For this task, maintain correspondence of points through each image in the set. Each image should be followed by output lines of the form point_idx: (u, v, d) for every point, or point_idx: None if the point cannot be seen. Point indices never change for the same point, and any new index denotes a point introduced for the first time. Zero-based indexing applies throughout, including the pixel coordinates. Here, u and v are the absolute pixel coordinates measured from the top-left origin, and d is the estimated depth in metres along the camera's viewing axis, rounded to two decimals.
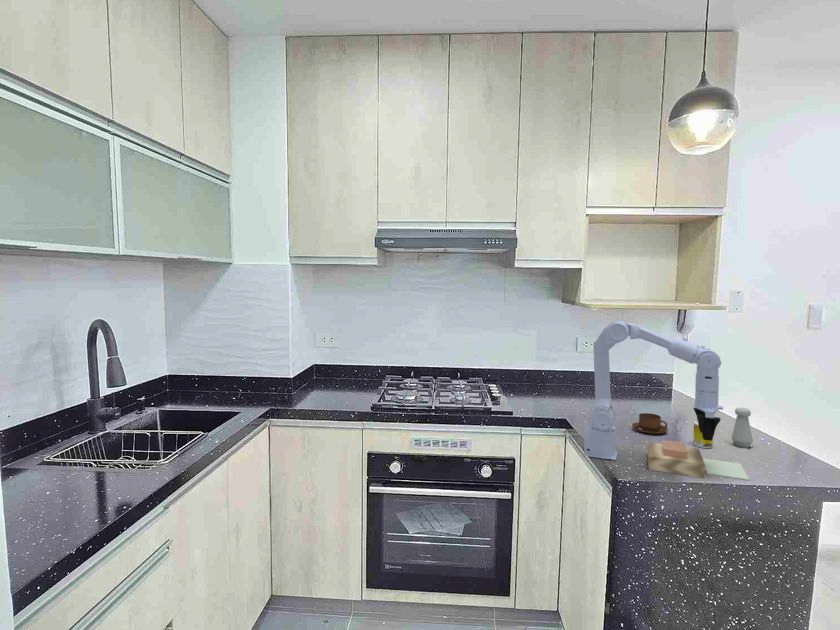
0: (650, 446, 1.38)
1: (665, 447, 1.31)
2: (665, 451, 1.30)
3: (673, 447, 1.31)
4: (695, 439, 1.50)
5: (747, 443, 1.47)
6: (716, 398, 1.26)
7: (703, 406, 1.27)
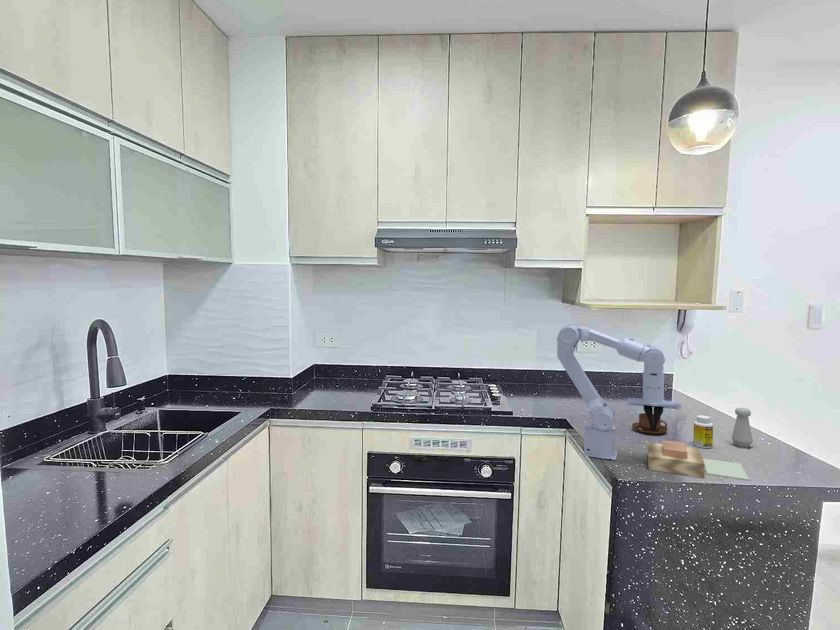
0: (650, 446, 1.38)
1: (665, 447, 1.31)
2: (665, 451, 1.30)
3: (673, 447, 1.31)
4: (695, 439, 1.50)
5: (747, 443, 1.47)
6: (646, 393, 1.34)
7: None
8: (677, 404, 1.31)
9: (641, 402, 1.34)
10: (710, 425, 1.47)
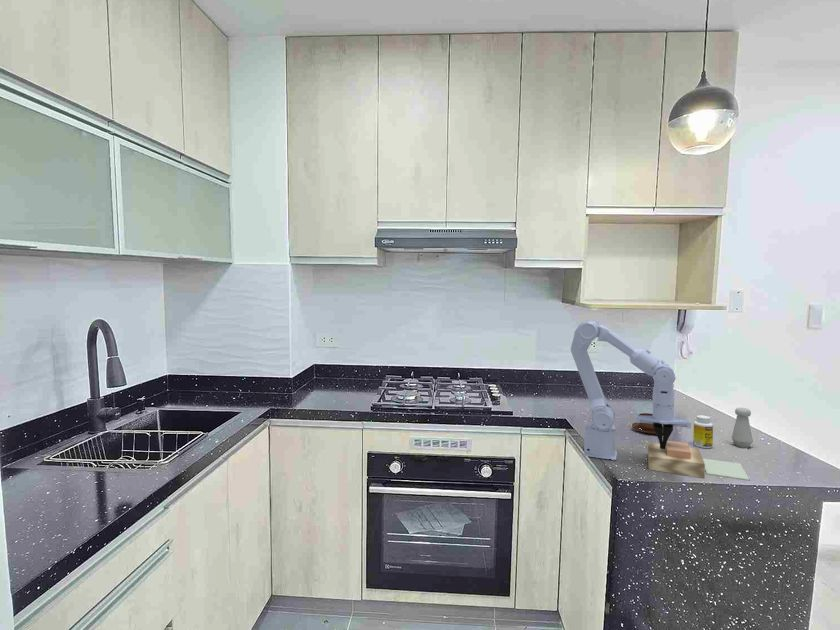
0: (650, 446, 1.38)
1: (668, 447, 1.31)
2: (668, 451, 1.30)
3: (676, 448, 1.31)
4: (695, 439, 1.50)
5: (747, 443, 1.47)
6: (656, 411, 1.33)
7: None
8: (687, 422, 1.30)
9: (651, 420, 1.33)
10: (710, 425, 1.47)
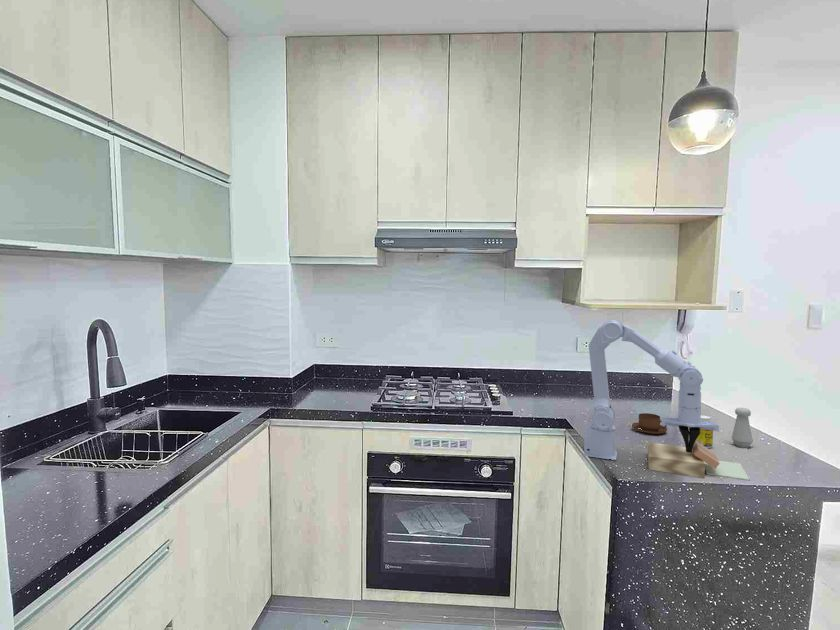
0: (650, 446, 1.38)
1: (699, 449, 1.27)
2: (698, 452, 1.26)
3: (706, 453, 1.27)
4: None
5: (747, 443, 1.47)
6: (683, 413, 1.29)
7: None
8: (715, 425, 1.27)
9: (677, 422, 1.30)
10: None
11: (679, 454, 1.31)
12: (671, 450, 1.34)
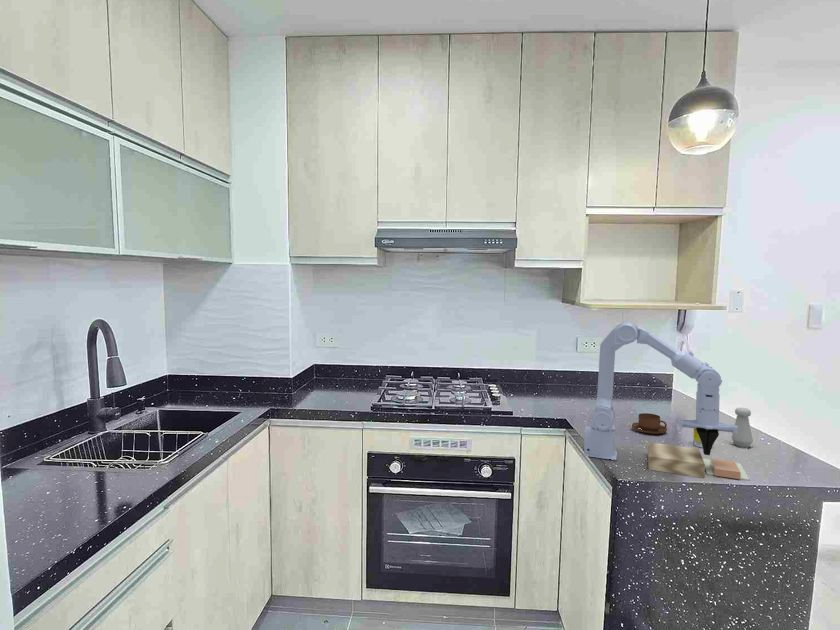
0: (650, 446, 1.38)
1: None
2: (738, 476, 1.22)
3: None
4: (695, 439, 1.50)
5: (747, 443, 1.47)
6: (701, 415, 1.27)
7: (696, 420, 1.31)
8: (734, 427, 1.25)
9: (695, 424, 1.28)
10: None
11: (679, 454, 1.31)
12: (671, 450, 1.34)
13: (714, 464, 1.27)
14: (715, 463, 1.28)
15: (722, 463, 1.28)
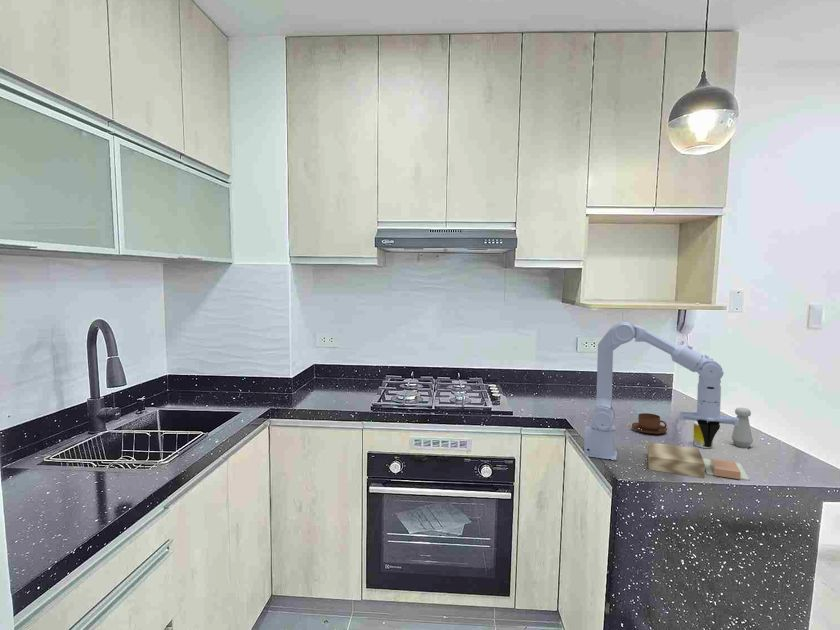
0: (650, 446, 1.38)
1: None
2: (738, 476, 1.22)
3: None
4: (695, 439, 1.50)
5: (747, 443, 1.47)
6: (702, 407, 1.27)
7: (697, 412, 1.31)
8: (735, 419, 1.25)
9: (696, 416, 1.28)
10: None
11: (679, 454, 1.31)
12: (671, 450, 1.34)
13: (714, 464, 1.27)
14: (715, 463, 1.28)
15: (722, 463, 1.28)
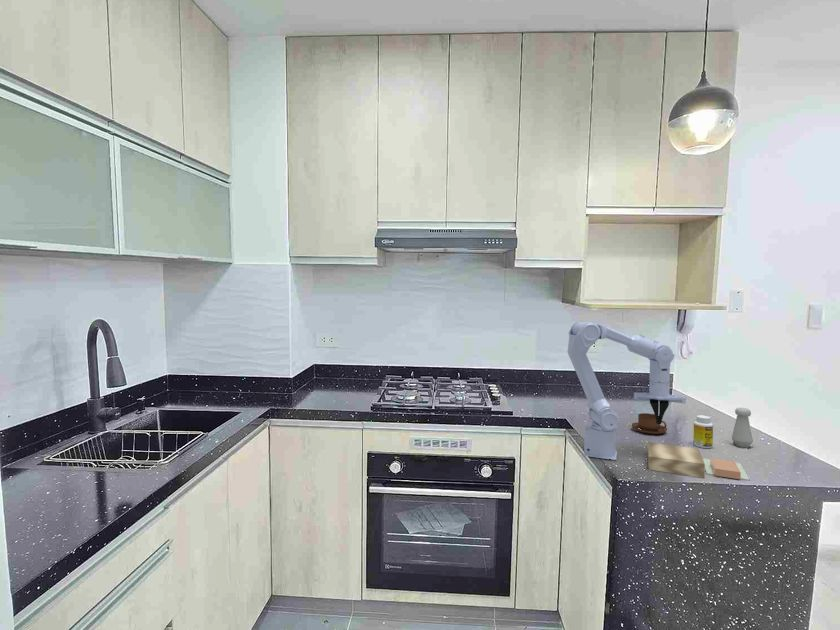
0: (650, 446, 1.38)
1: None
2: (738, 476, 1.22)
3: None
4: (695, 439, 1.50)
5: (747, 443, 1.47)
6: (653, 387, 1.40)
7: None
8: (682, 398, 1.37)
9: (647, 396, 1.41)
10: (710, 425, 1.47)
11: (679, 454, 1.31)
12: (671, 450, 1.34)
13: (714, 464, 1.27)
14: (715, 463, 1.28)
15: (722, 463, 1.28)
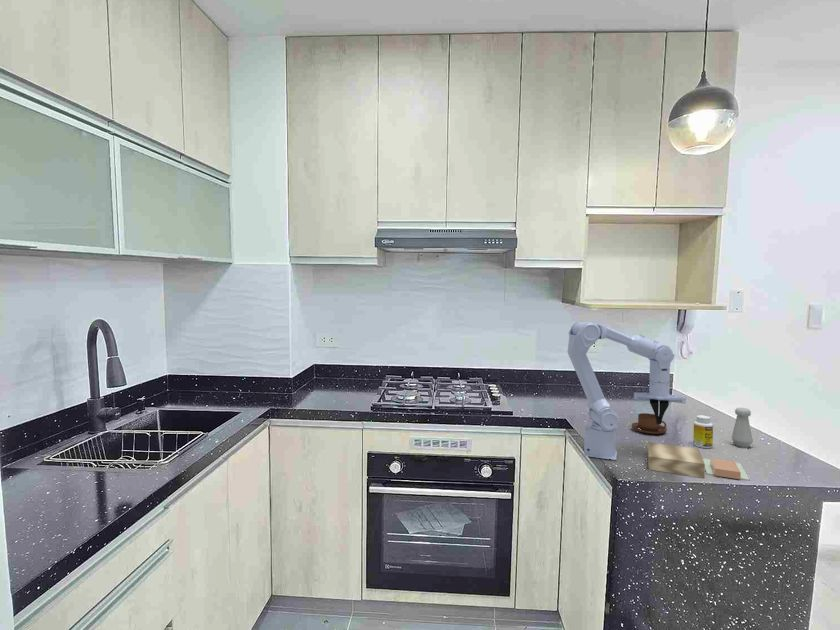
0: (650, 446, 1.38)
1: None
2: (738, 476, 1.22)
3: None
4: (695, 439, 1.50)
5: (747, 443, 1.47)
6: (653, 387, 1.40)
7: None
8: (682, 398, 1.37)
9: (647, 396, 1.41)
10: (710, 425, 1.47)
11: (679, 454, 1.31)
12: (671, 450, 1.34)
13: (714, 464, 1.27)
14: (715, 463, 1.28)
15: (722, 463, 1.28)
